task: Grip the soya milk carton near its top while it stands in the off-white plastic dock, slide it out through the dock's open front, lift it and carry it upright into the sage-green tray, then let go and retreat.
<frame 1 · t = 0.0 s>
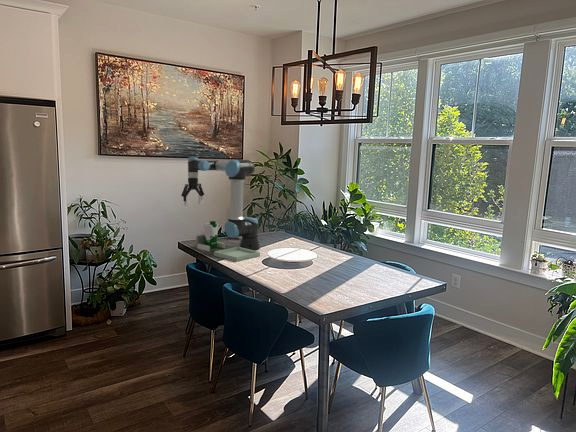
hand: (193, 204, 326), 28 cm above the table, fingers open, 13 cm apart
soya milk: (210, 248, 307), on the table
dock: (211, 248, 306), on the table
tray: (237, 256, 287), on the table
pitcher: (240, 238, 344), on the table
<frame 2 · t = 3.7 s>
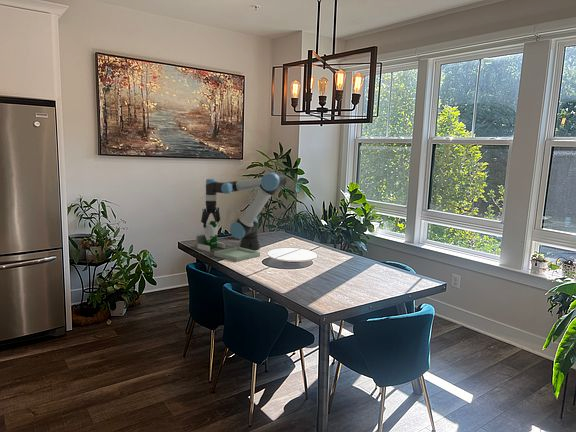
hand: (210, 231, 305), 12 cm above the table, fingers closed on soya milk, 9 cm apart
soya milk: (210, 248, 307), on the table, touching gripper
everything else where it was.
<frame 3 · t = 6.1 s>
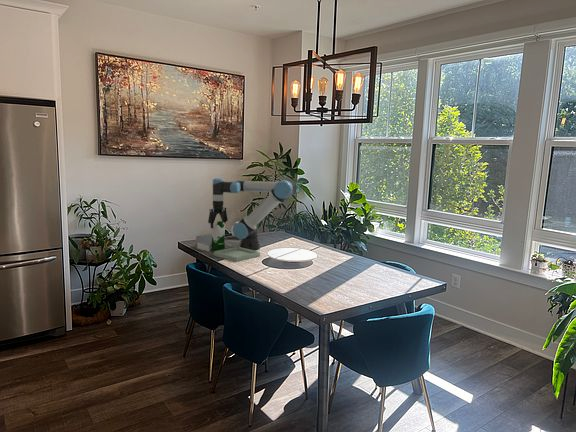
hand: (218, 231, 300), 13 cm above the table, fingers closed on soya milk, 9 cm apart
soya milk: (218, 249, 302), point 1 cm above the table, touching gripper
everything else where it was.
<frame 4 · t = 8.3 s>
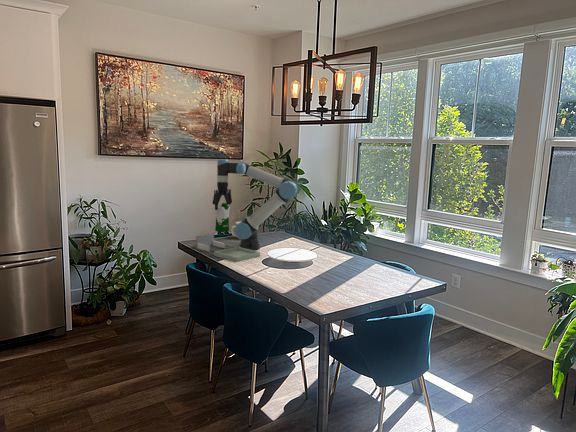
hand: (222, 213, 295), 27 cm above the table, fingers closed on soya milk, 9 cm apart
soya milk: (222, 231, 297), point 14 cm above the table, touching gripper
everything else where it was.
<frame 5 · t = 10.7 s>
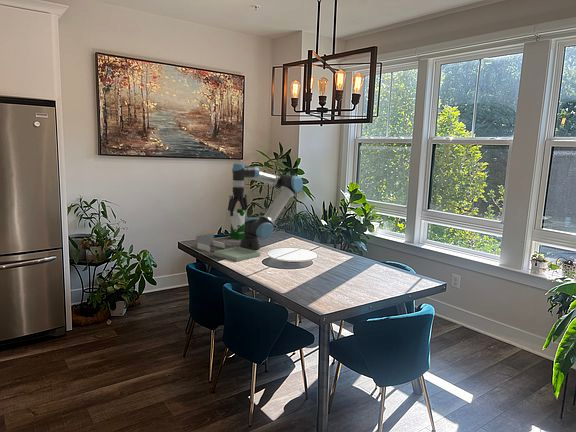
hand: (237, 220, 283), 25 cm above the table, fingers closed on soya milk, 9 cm apart
soya milk: (237, 238, 285), point 12 cm above the table, touching gripper
everything else where it was.
when the fingers open (14 cm above the table, at t = 12.9 s): soya milk stays where it is, resting on tray.
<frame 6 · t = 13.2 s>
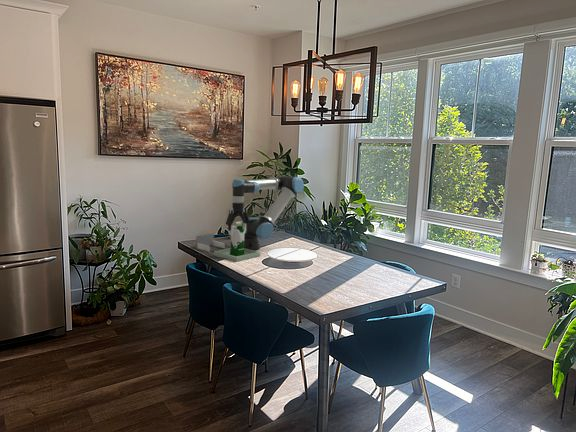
hand: (237, 233, 284), 15 cm above the table, fingers open, 12 cm apart
soya milk: (237, 254, 287), point 1 cm above the table, touching tray
everything else where it was.
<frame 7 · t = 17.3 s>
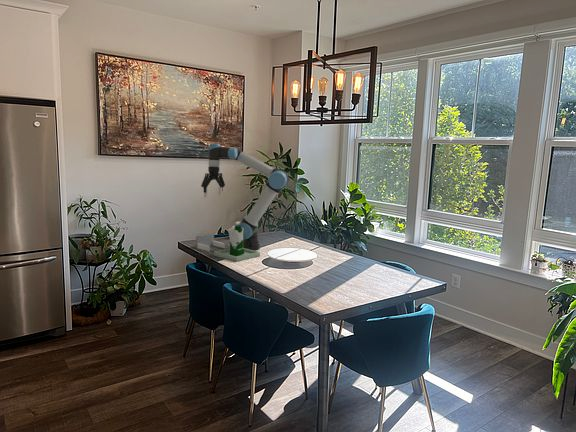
hand: (213, 196, 294), 39 cm above the table, fingers open, 13 cm apart
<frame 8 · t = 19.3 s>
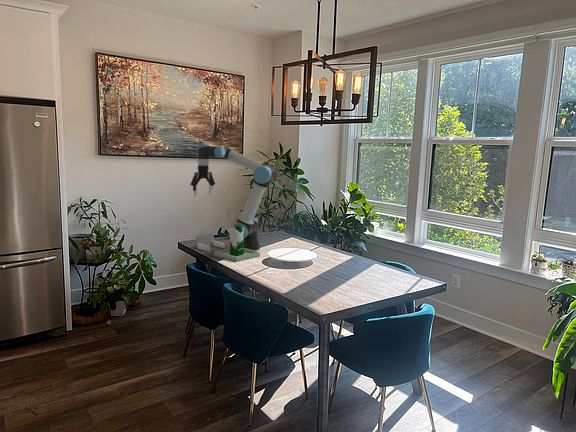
hand: (203, 195, 301), 39 cm above the table, fingers open, 13 cm apart
soya milk: (237, 254, 287), point 1 cm above the table, touching arm, tray
everything else where it was.
at the end: soya milk inside the target area on the tray (0.2 cm from its centre), point 1.1 cm above the tray's base; soya milk tilted 4°; the gripper is holding nothing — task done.
